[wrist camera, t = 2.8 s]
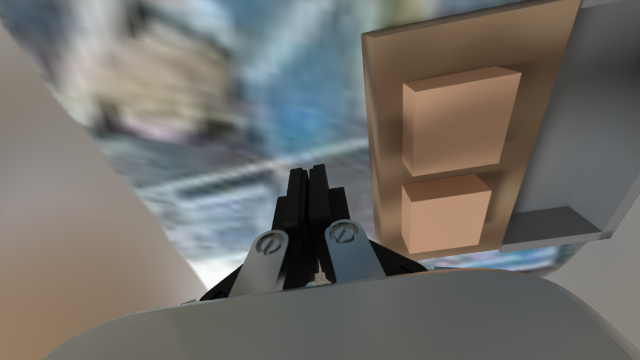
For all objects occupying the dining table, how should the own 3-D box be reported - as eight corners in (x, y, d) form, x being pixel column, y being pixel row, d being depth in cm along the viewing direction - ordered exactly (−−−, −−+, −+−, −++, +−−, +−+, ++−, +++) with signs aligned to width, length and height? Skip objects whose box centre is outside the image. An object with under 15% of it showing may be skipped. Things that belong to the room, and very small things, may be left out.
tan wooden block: (361, 33, 16) (373, 37, 13) (523, 1, 15) (582, -4, 12) (375, 232, 26) (384, 264, 22) (474, 218, 25) (499, 249, 22)
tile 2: (403, 83, 14) (415, 91, 12) (495, 66, 14) (521, 73, 12) (402, 160, 17) (412, 176, 15) (479, 148, 16) (498, 163, 15)
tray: (528, -10, 15) (591, -18, 12) (691, -43, 14) (808, -62, 11) (475, 221, 25) (501, 252, 22) (569, 208, 25) (610, 238, 21)
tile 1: (402, 184, 18) (411, 202, 16) (474, 173, 17) (491, 190, 16) (401, 234, 20) (409, 253, 19) (464, 225, 20) (478, 244, 18)
